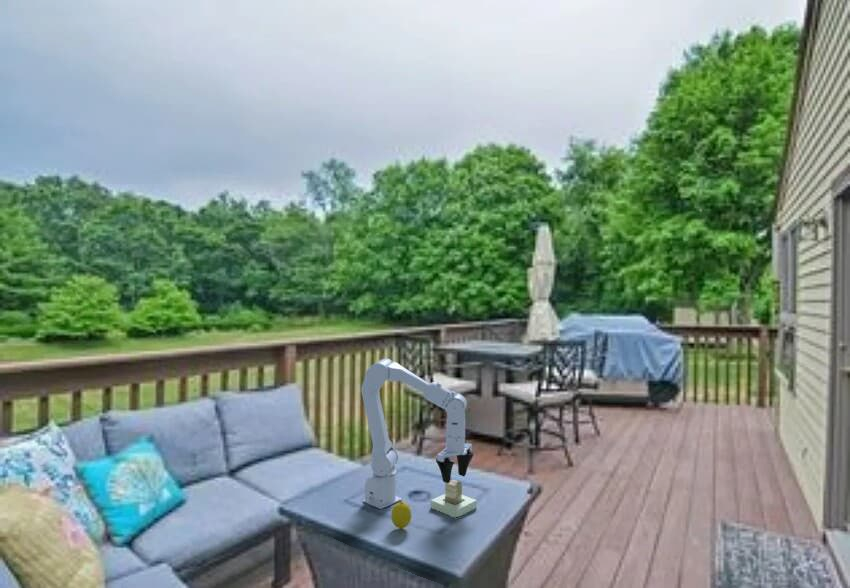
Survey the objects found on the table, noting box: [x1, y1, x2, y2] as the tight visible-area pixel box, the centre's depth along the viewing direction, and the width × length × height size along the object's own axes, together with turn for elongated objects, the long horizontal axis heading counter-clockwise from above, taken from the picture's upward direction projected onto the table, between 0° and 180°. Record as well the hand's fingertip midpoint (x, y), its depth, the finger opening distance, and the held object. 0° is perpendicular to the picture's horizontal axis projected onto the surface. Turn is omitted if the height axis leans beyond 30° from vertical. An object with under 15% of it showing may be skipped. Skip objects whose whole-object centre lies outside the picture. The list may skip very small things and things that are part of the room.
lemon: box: [391, 500, 412, 530], centre depth 164 cm, size 6×6×8 cm
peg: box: [444, 479, 463, 505], centre depth 178 cm, size 4×4×8 cm
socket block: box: [430, 493, 478, 518], centre depth 178 cm, size 10×10×2 cm
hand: (454, 478), depth 178 cm, fingers open, 7 cm apart
